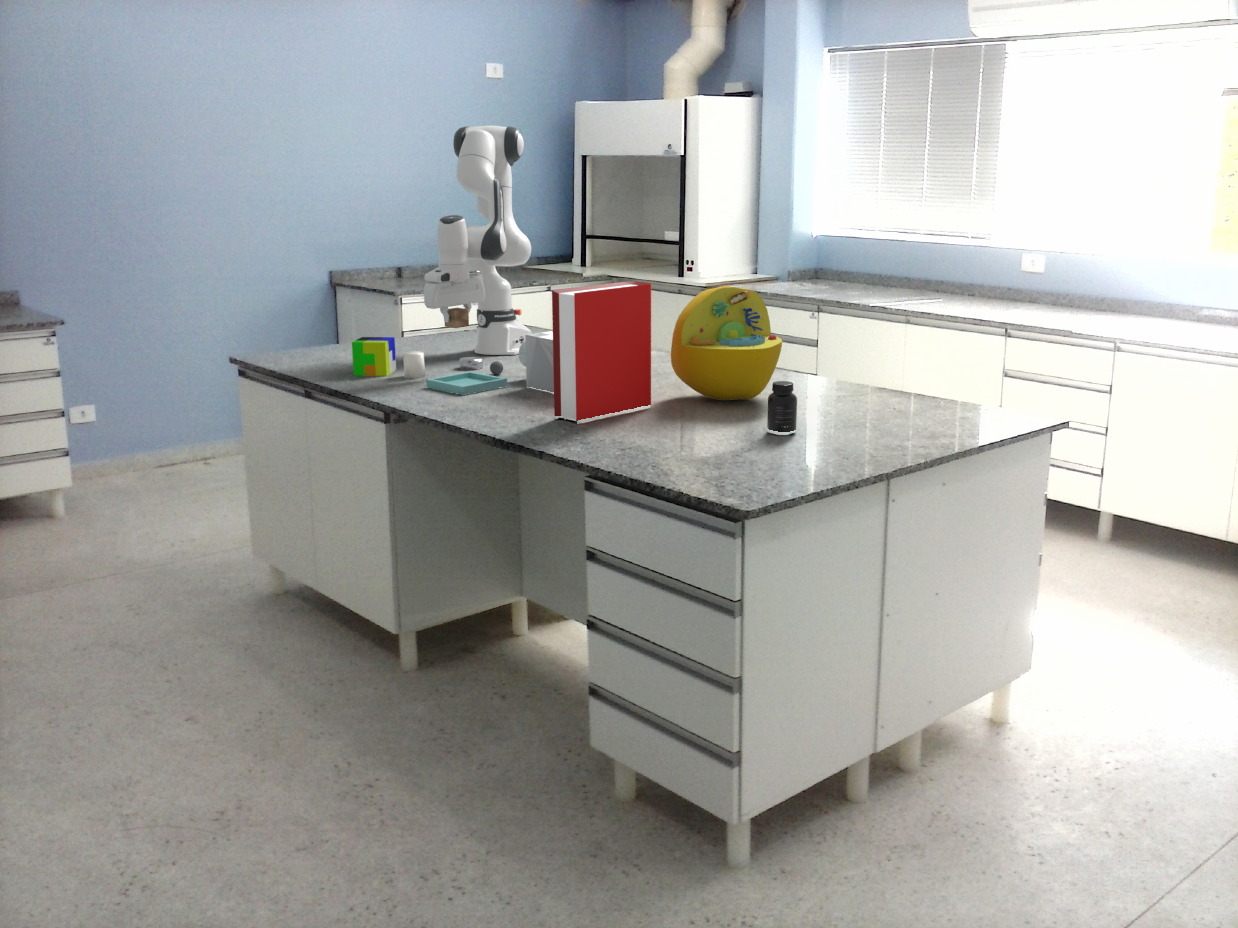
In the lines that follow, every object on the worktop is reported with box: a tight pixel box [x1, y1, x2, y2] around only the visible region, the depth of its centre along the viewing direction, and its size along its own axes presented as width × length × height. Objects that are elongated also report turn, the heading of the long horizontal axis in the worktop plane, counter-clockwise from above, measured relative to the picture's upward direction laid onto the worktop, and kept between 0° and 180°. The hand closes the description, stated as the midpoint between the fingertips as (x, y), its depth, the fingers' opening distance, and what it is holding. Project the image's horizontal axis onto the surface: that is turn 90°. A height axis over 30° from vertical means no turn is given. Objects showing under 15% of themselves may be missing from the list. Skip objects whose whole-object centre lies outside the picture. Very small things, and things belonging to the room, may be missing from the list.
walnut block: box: [444, 307, 470, 329], centre depth 343 cm, size 5×5×5 cm
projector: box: [518, 330, 554, 392], centre depth 328 cm, size 35×19×15 cm, turn 42°
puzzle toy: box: [351, 336, 397, 377], centre depth 351 cm, size 10×10×10 cm
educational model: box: [670, 285, 783, 401], centre depth 308 cm, size 29×30×30 cm
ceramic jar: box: [402, 350, 426, 379], centre depth 345 cm, size 6×6×7 cm
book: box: [551, 280, 652, 421], centre depth 293 cm, size 27×8×32 cm, turn 134°
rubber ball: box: [489, 360, 504, 376], centre depth 347 cm, size 4×4×4 cm
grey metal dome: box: [459, 356, 484, 371], centre depth 358 cm, size 7×7×3 cm
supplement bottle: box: [766, 380, 798, 432], centre depth 275 cm, size 7×7×12 cm
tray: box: [425, 370, 508, 396], centre depth 330 cm, size 16×16×2 cm
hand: (456, 320), depth 343 cm, fingers closed on walnut block, 5 cm apart
